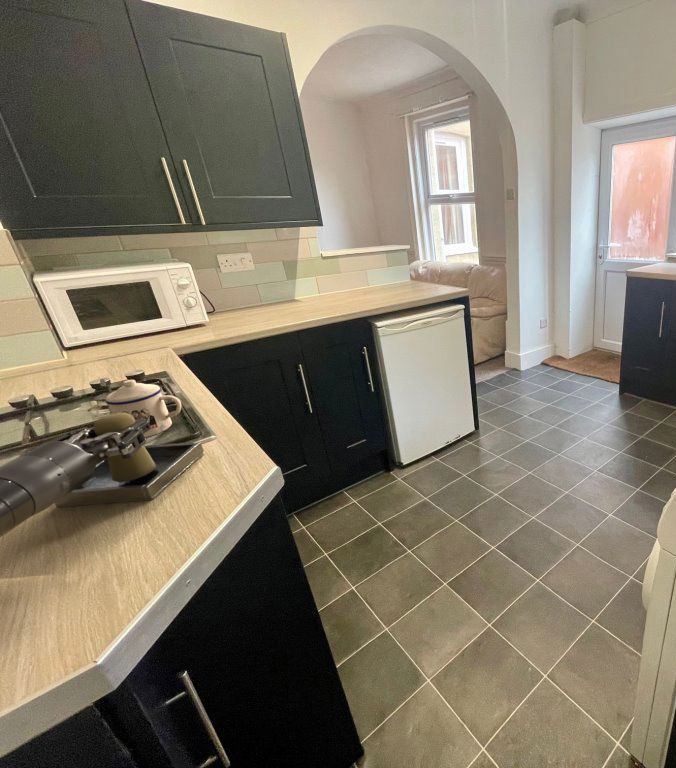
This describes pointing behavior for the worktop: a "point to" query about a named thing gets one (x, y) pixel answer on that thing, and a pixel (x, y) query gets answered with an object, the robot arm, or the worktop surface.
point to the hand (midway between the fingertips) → (128, 424)
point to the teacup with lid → (143, 405)
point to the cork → (118, 466)
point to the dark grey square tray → (147, 487)
